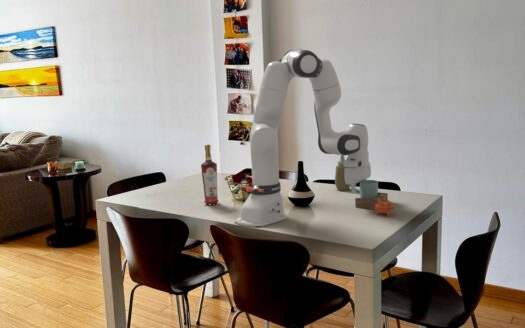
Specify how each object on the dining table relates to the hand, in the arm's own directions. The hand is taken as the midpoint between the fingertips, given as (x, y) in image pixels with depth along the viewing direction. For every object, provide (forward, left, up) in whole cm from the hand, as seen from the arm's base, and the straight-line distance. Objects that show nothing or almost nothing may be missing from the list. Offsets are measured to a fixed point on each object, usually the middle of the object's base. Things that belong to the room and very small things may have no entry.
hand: (358, 191), depth 219 cm
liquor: (-29, +61, -6) cm, 68 cm away
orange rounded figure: (-12, -17, -6) cm, 21 cm away
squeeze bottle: (+22, +18, -6) cm, 29 cm away
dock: (0, -7, -6) cm, 9 cm away
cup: (+1, -4, -6) cm, 7 cm away
